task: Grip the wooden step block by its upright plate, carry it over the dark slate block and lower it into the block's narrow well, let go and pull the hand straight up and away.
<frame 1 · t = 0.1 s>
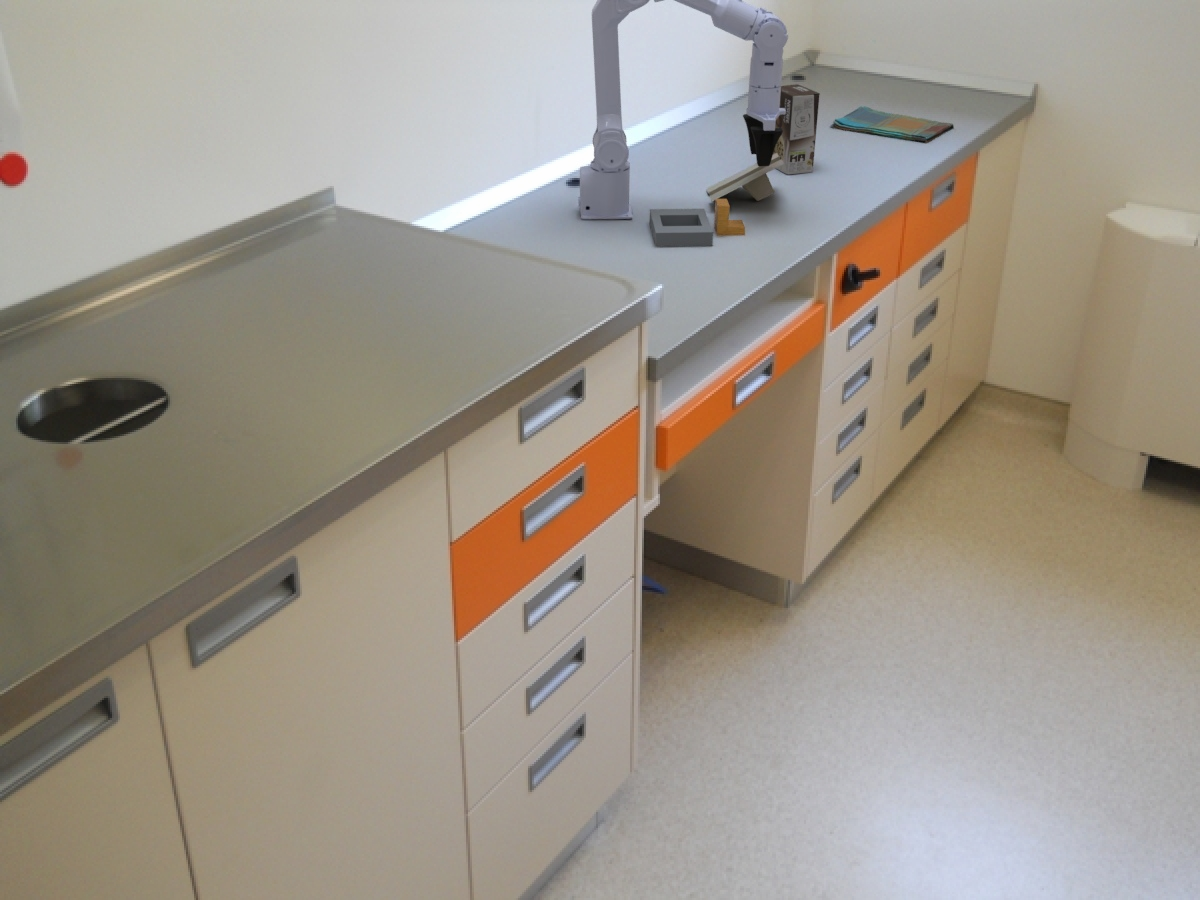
hand: (760, 159, 234), 10 cm above the counter, tool pointing down, fingers open, 7 cm apart
wooden step block: (729, 231, 230), on the counter
beige footed plank: (742, 202, 246), on the counter
coffee box: (789, 168, 265), on the counter
dish towel: (891, 131, 293), on the counter
well block: (680, 233, 229), on the counter
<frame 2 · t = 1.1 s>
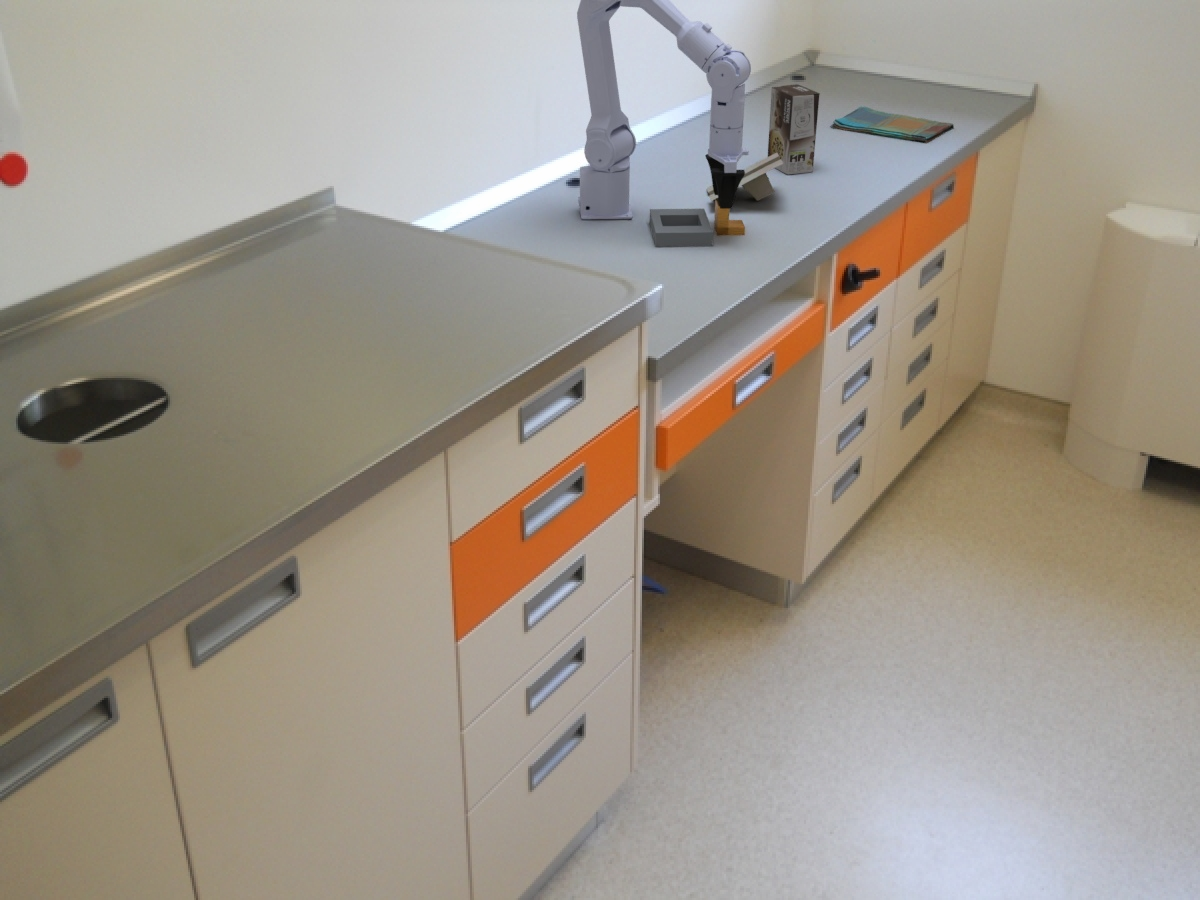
hand: (722, 201, 227), 6 cm above the counter, tool pointing down, fingers open, 7 cm apart
nothing on the counter moved.
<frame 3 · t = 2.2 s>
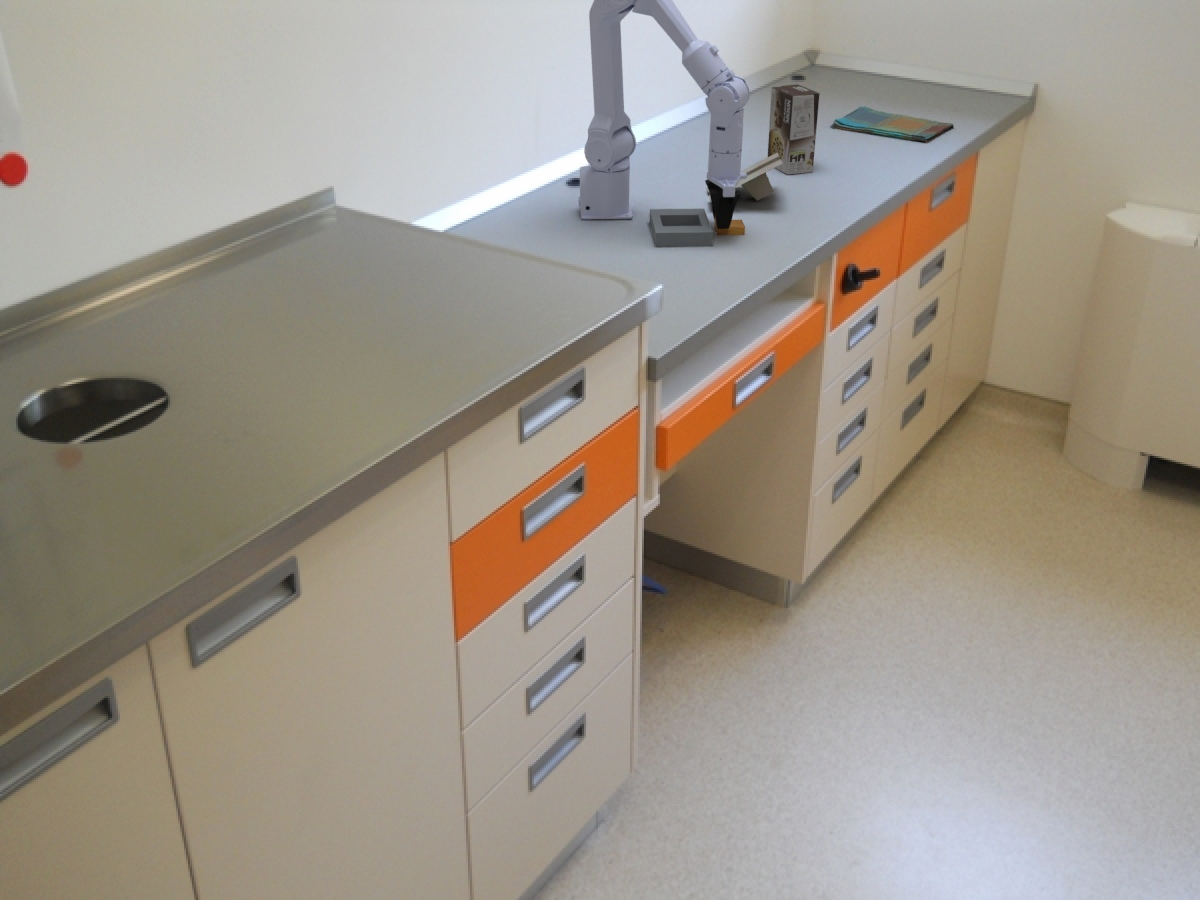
hand: (721, 223, 229), 1 cm above the counter, tool pointing down, fingers closed on wooden step block, 4 cm apart
wooden step block: (729, 231, 230), on the counter, touching gripper
everything else where it was.
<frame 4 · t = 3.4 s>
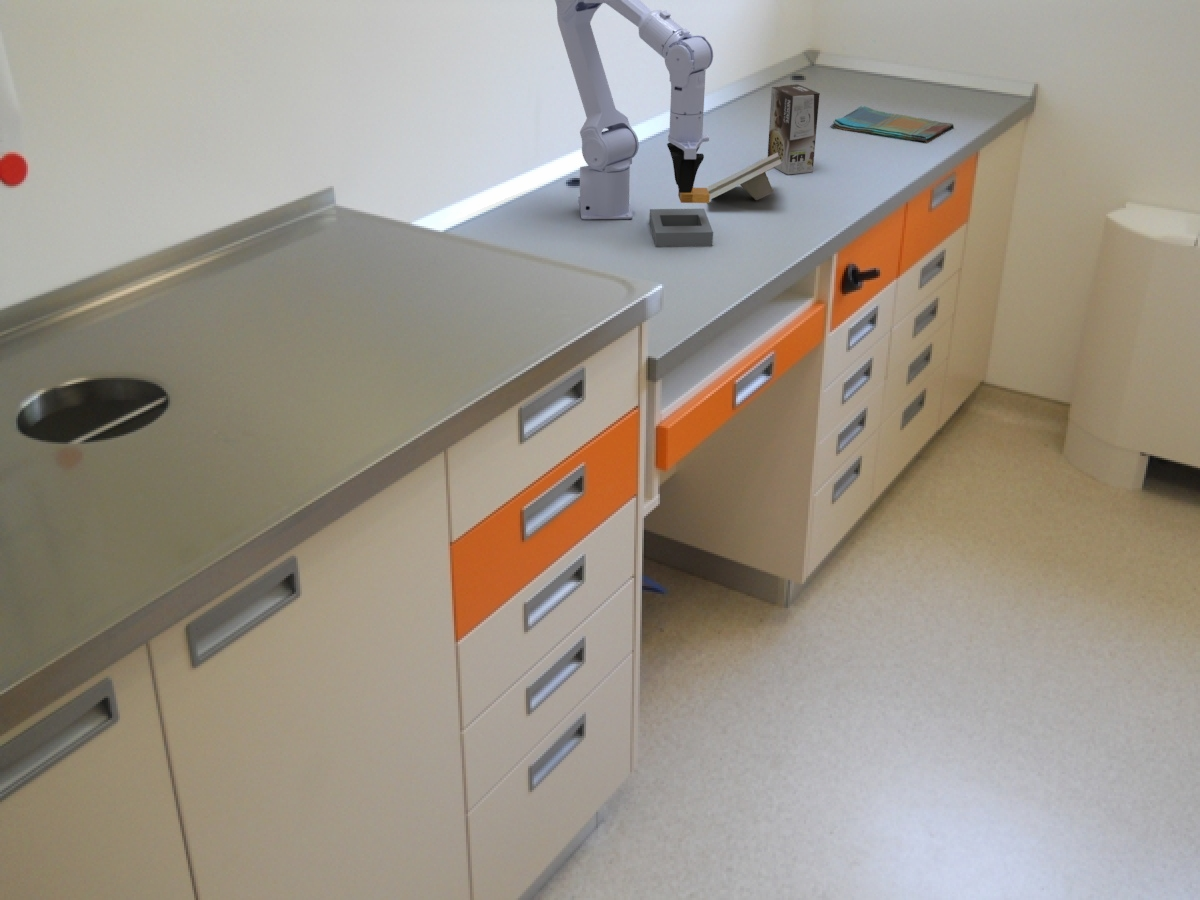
hand: (683, 188, 225), 8 cm above the counter, tool pointing down, fingers closed on wooden step block, 4 cm apart
wooden step block: (693, 199, 226), point 6 cm above the counter, touching gripper
everything else where it was.
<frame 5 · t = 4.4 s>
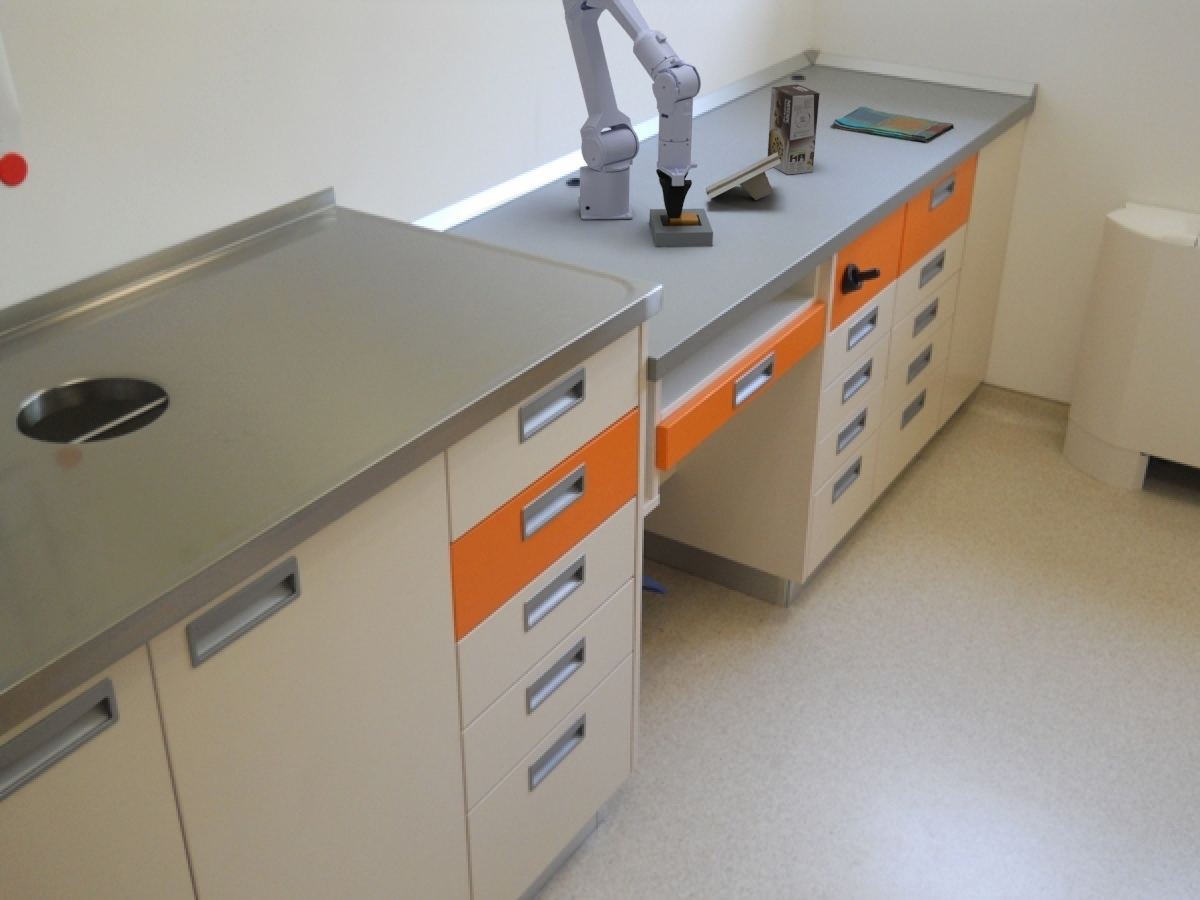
hand: (672, 213, 227), 4 cm above the counter, tool pointing down, fingers closed on wooden step block, 4 cm apart
wooden step block: (682, 224, 228), point 2 cm above the counter, touching gripper
everything else where it was.
when the fingers open (3 cm above the counter, at t = 5.0 s): wooden step block stays where it is, resting in well block.
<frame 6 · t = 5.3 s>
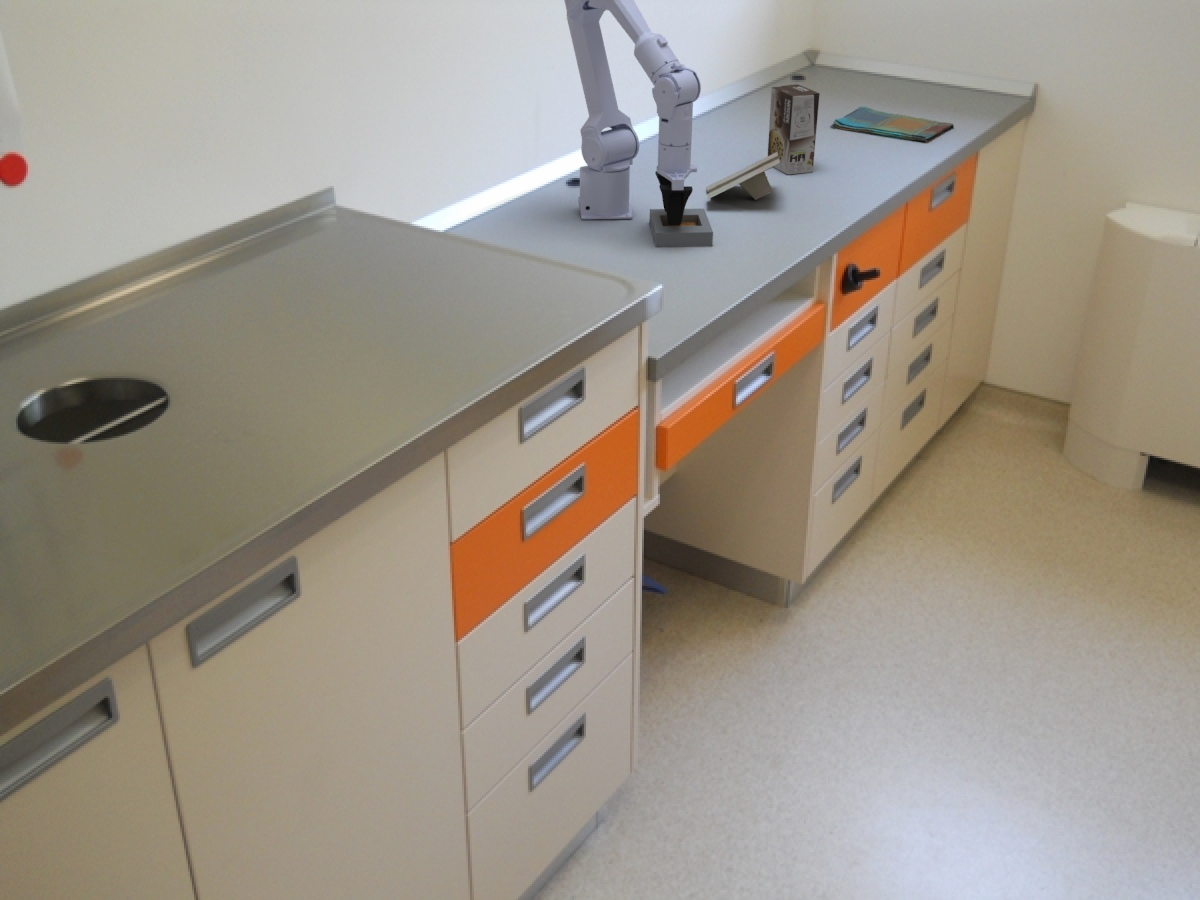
hand: (672, 217, 227), 3 cm above the counter, tool pointing down, fingers open, 7 cm apart
wooden step block: (681, 234, 229), resting in well block
everything else where it was.
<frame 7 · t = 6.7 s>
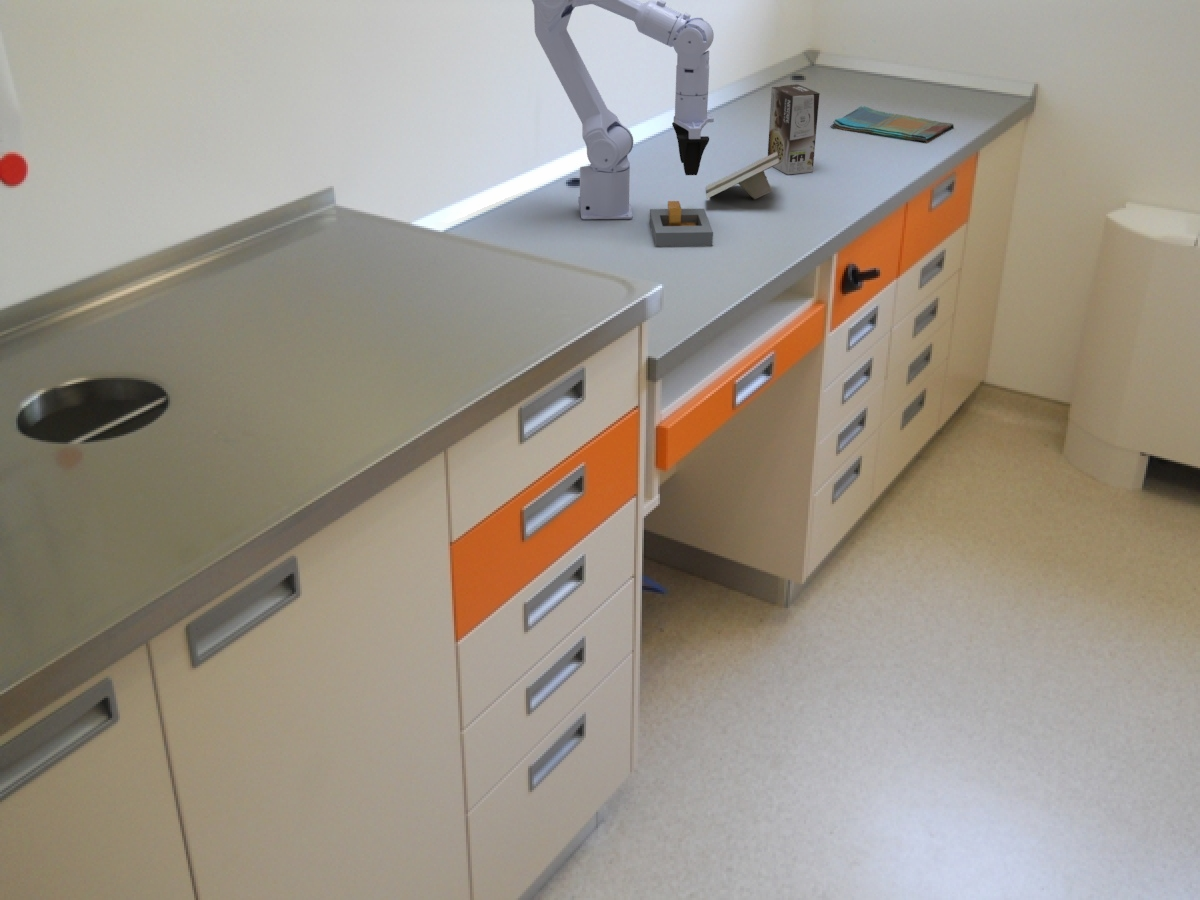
hand: (688, 168, 230), 10 cm above the counter, tool pointing down, fingers open, 7 cm apart
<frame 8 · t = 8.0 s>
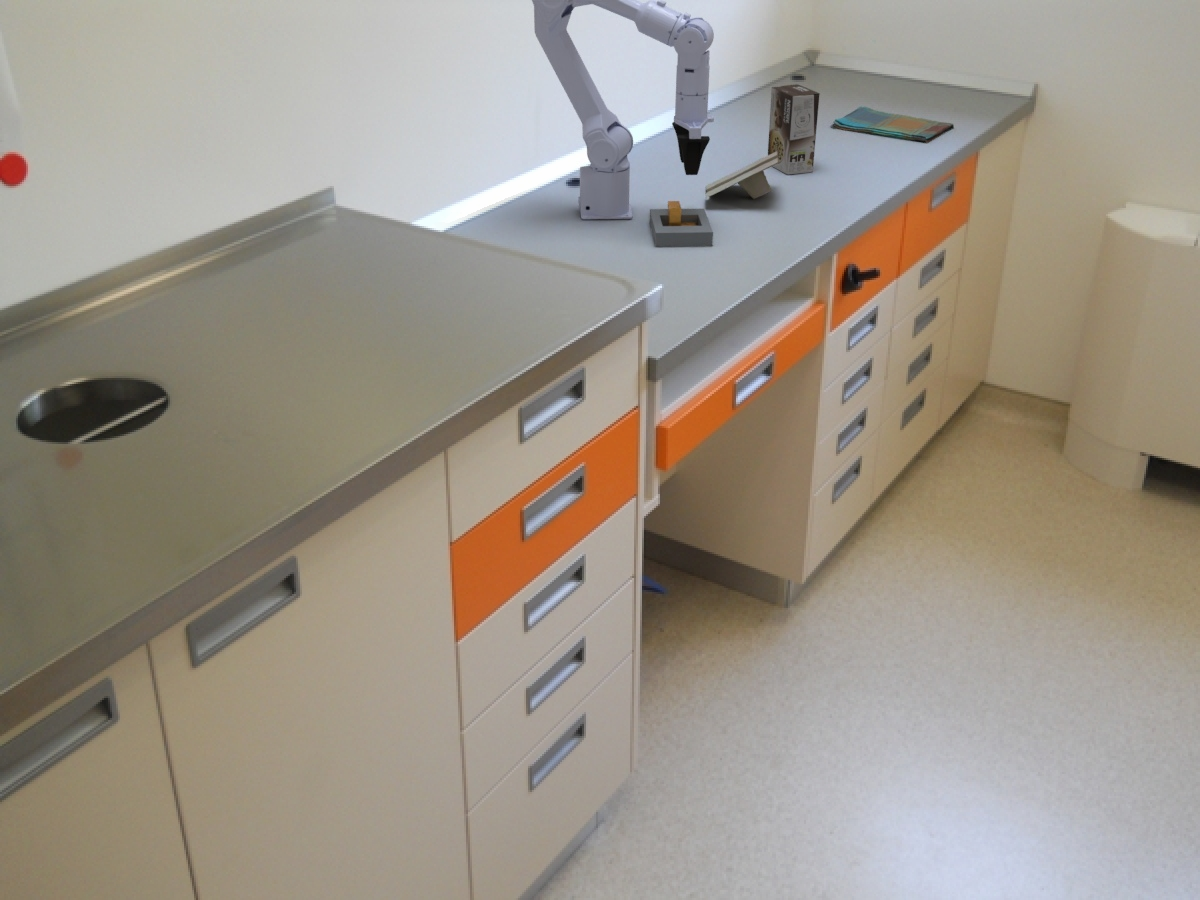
hand: (689, 168, 230), 10 cm above the counter, tool pointing down, fingers open, 7 cm apart
at the end: wooden step block 0.3 cm off-centre on the well block, point 0.0 cm above the well block's base; wooden step block tilted 0°; the gripper is holding nothing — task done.
